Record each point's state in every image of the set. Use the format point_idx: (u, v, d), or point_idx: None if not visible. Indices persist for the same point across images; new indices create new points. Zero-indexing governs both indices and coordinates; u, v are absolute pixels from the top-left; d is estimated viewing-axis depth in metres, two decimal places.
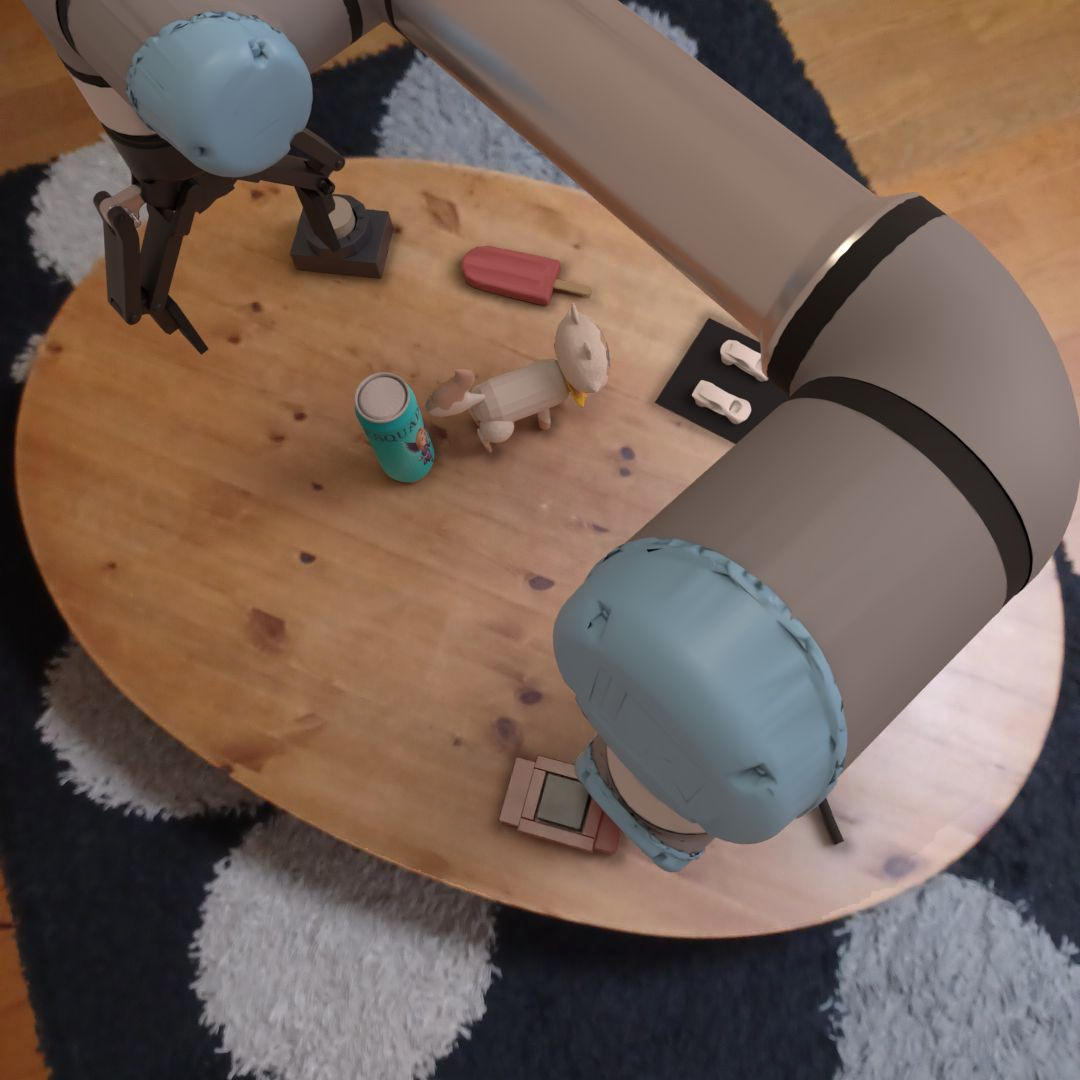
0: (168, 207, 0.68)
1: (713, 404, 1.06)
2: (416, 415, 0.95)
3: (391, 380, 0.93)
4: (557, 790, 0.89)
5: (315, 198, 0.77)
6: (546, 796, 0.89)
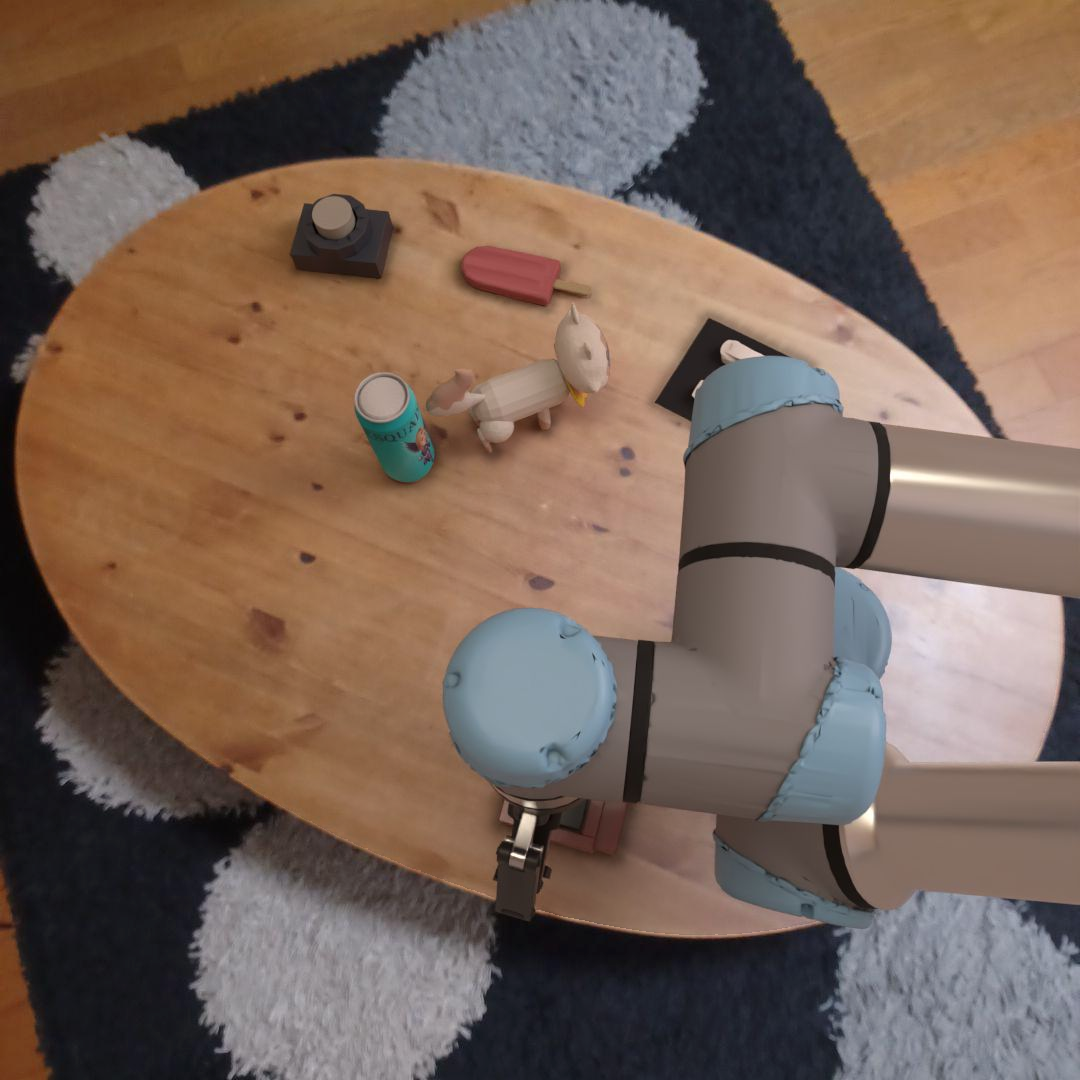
0: None
1: None
2: (415, 415, 0.95)
3: (391, 380, 0.93)
4: None
5: None
6: None
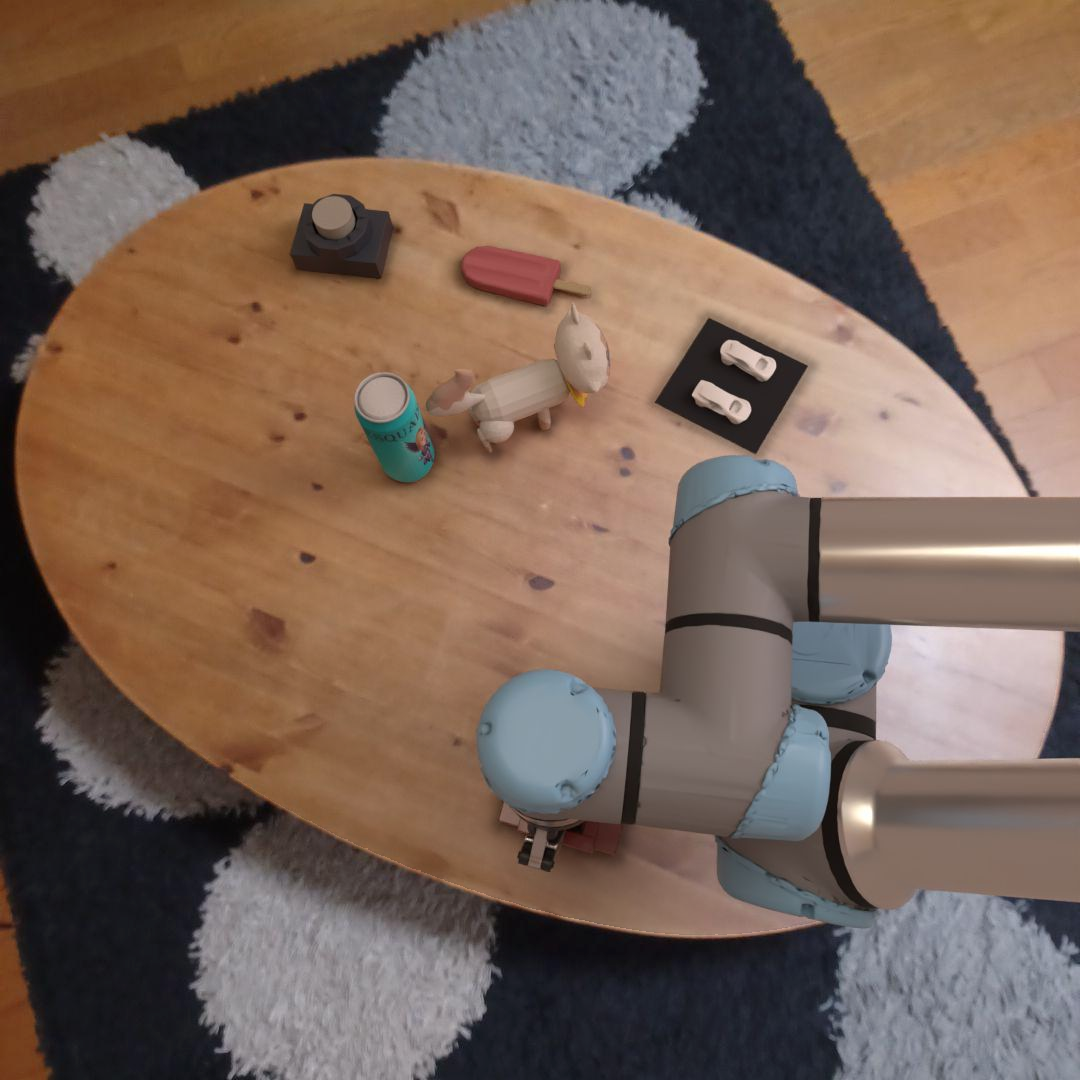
0: None
1: (713, 404, 1.06)
2: (415, 415, 0.95)
3: (391, 380, 0.93)
4: None
5: None
6: None
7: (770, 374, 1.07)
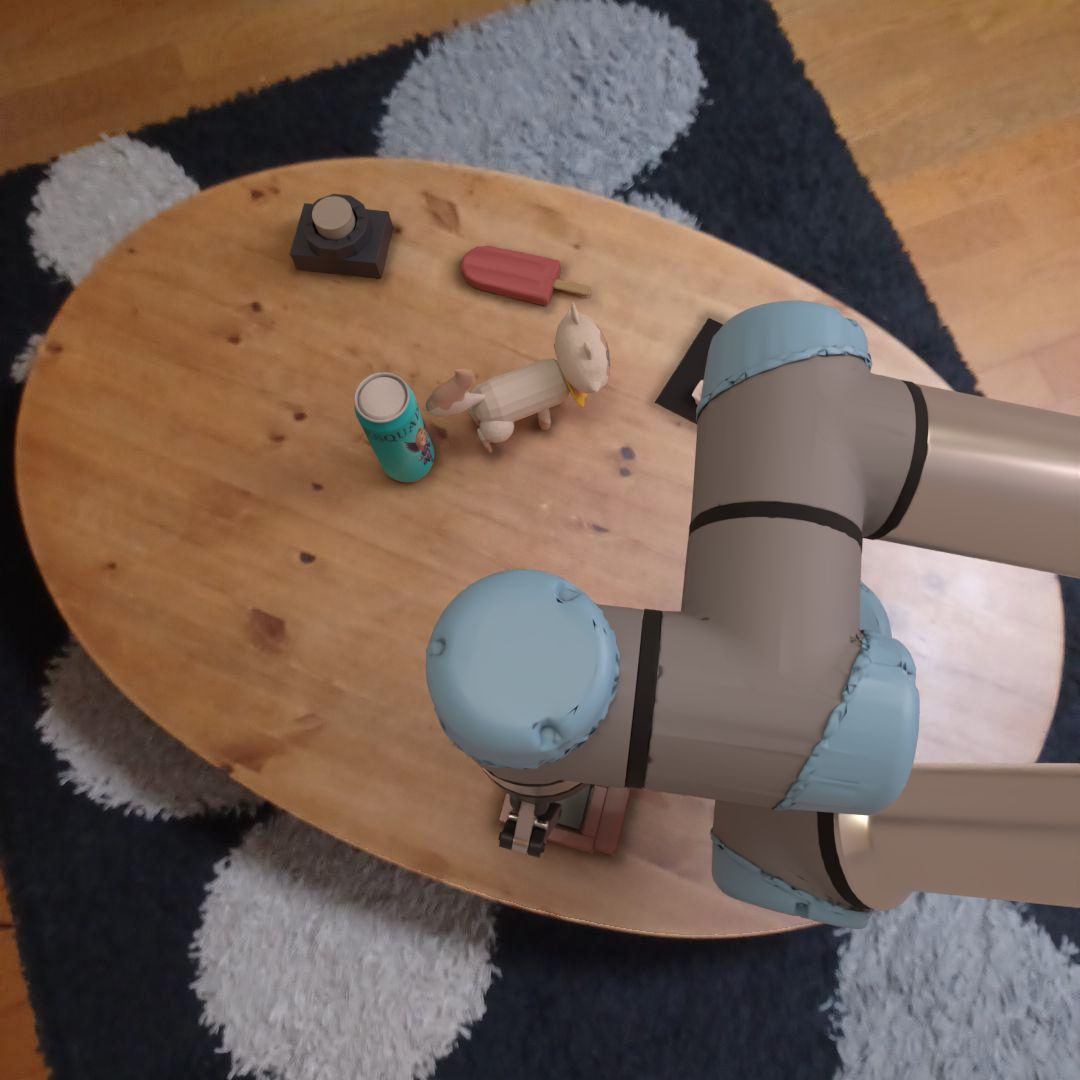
0: None
1: None
2: (415, 415, 0.95)
3: (391, 380, 0.93)
4: None
5: None
6: None
7: None
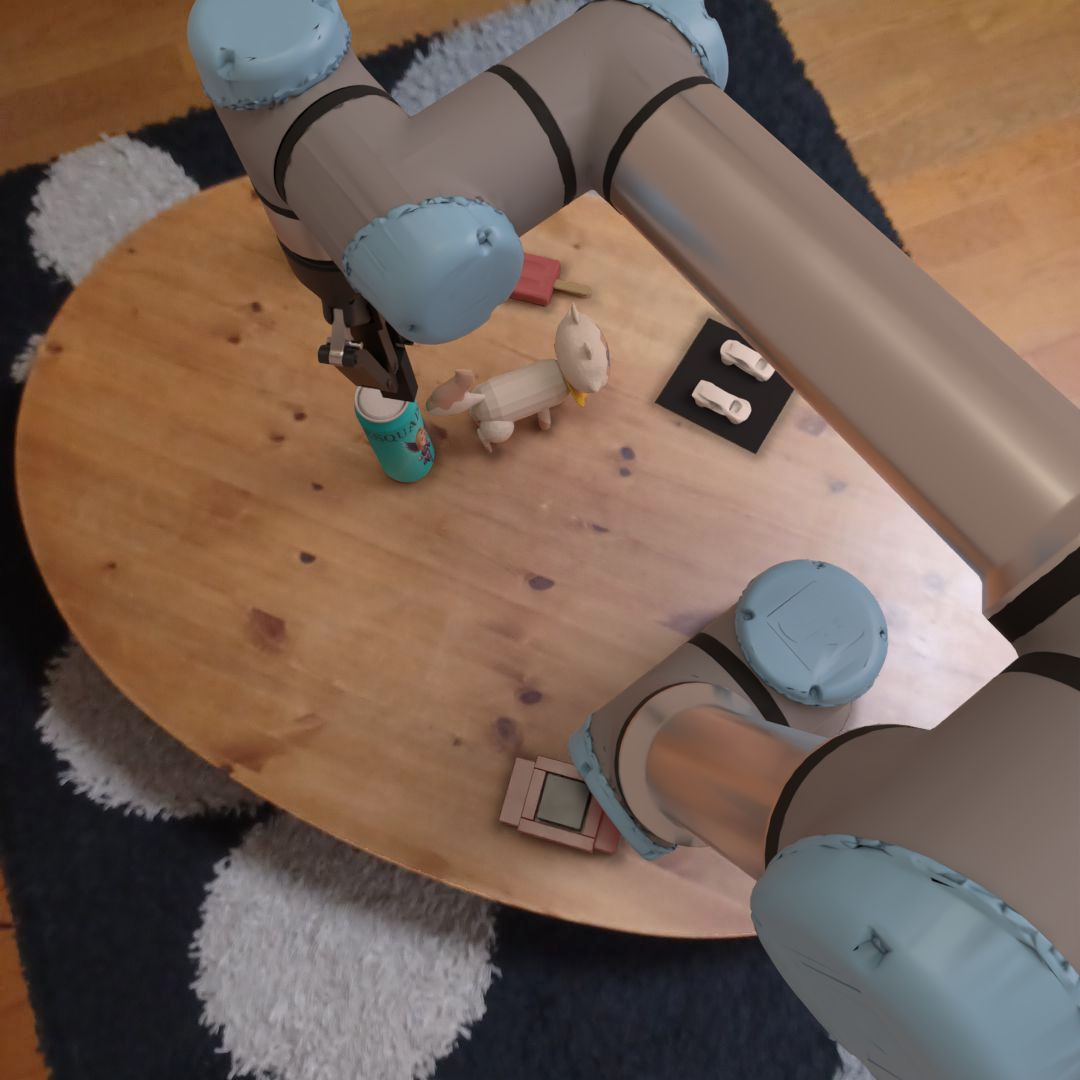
0: (361, 321, 0.67)
1: (713, 404, 1.06)
2: (415, 415, 0.95)
3: None
4: (557, 790, 0.89)
5: (403, 352, 0.77)
6: (546, 796, 0.89)
7: (770, 374, 1.07)
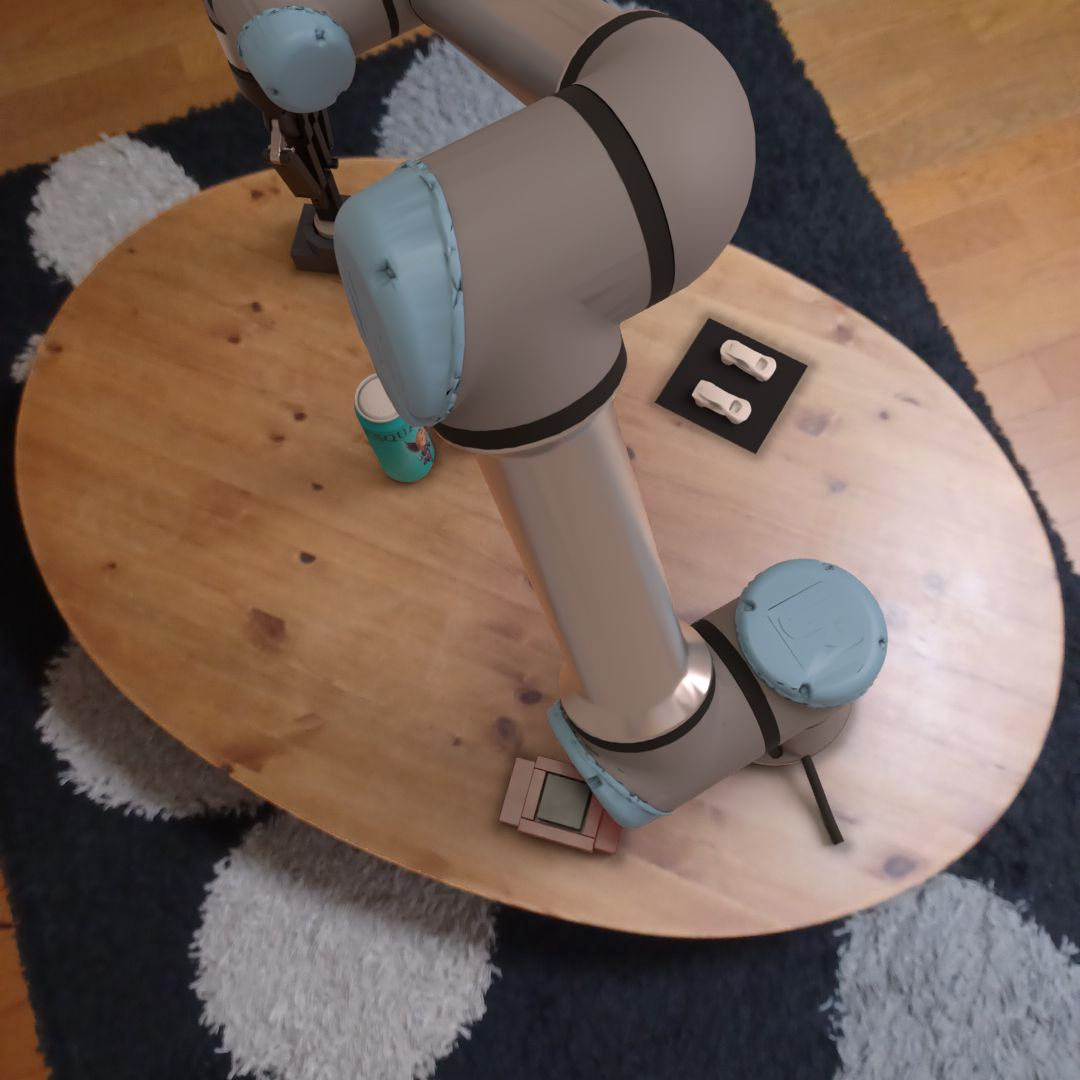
0: (292, 131, 0.94)
1: (713, 404, 1.06)
2: None
3: None
4: (557, 790, 0.89)
5: (329, 174, 1.05)
6: (546, 796, 0.89)
7: (770, 374, 1.07)
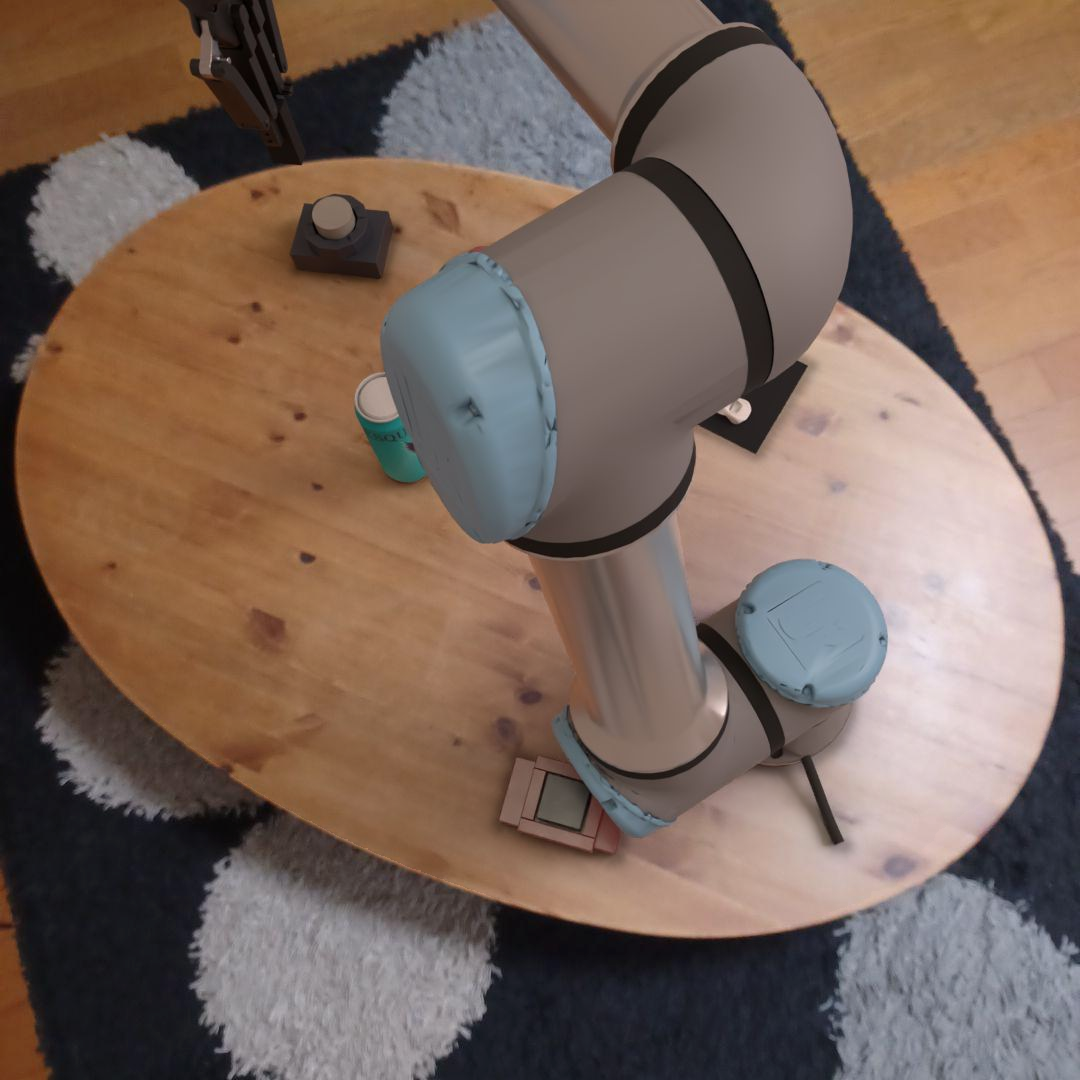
0: (227, 37, 0.76)
1: None
2: None
3: None
4: (557, 790, 0.89)
5: (282, 103, 0.87)
6: (546, 796, 0.89)
7: None
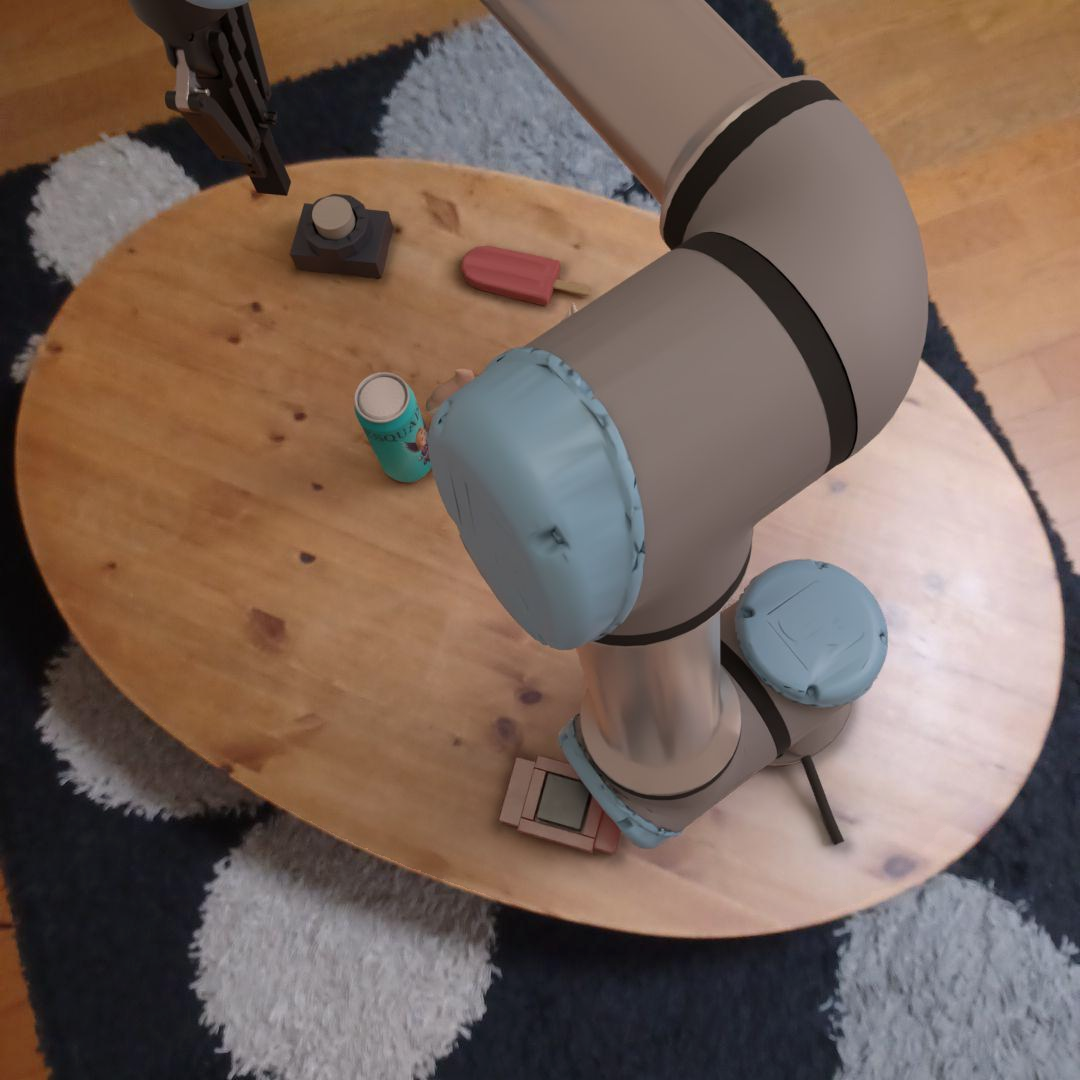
0: (206, 68, 0.70)
1: None
2: (415, 415, 0.95)
3: (391, 380, 0.93)
4: (557, 790, 0.89)
5: (265, 132, 0.81)
6: (546, 796, 0.89)
7: None
